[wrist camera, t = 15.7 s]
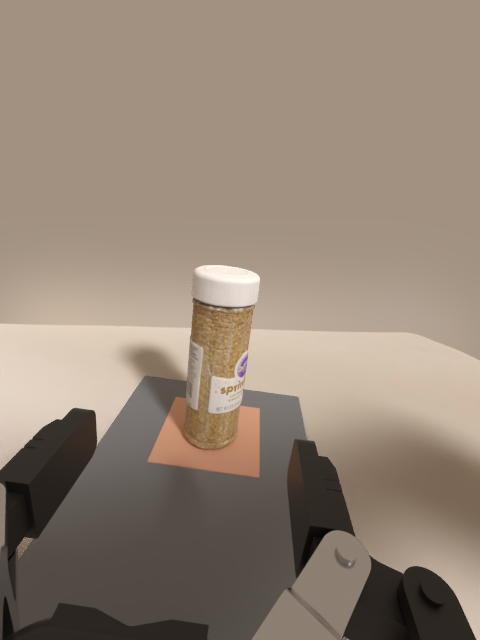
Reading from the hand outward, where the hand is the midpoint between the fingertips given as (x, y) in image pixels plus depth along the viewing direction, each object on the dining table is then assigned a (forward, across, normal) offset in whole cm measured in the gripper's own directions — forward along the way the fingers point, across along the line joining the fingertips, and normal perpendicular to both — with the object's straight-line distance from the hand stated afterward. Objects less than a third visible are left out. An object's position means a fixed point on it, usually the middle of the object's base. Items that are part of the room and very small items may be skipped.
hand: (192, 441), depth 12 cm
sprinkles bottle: (+11, 0, +9) cm, 14 cm away
